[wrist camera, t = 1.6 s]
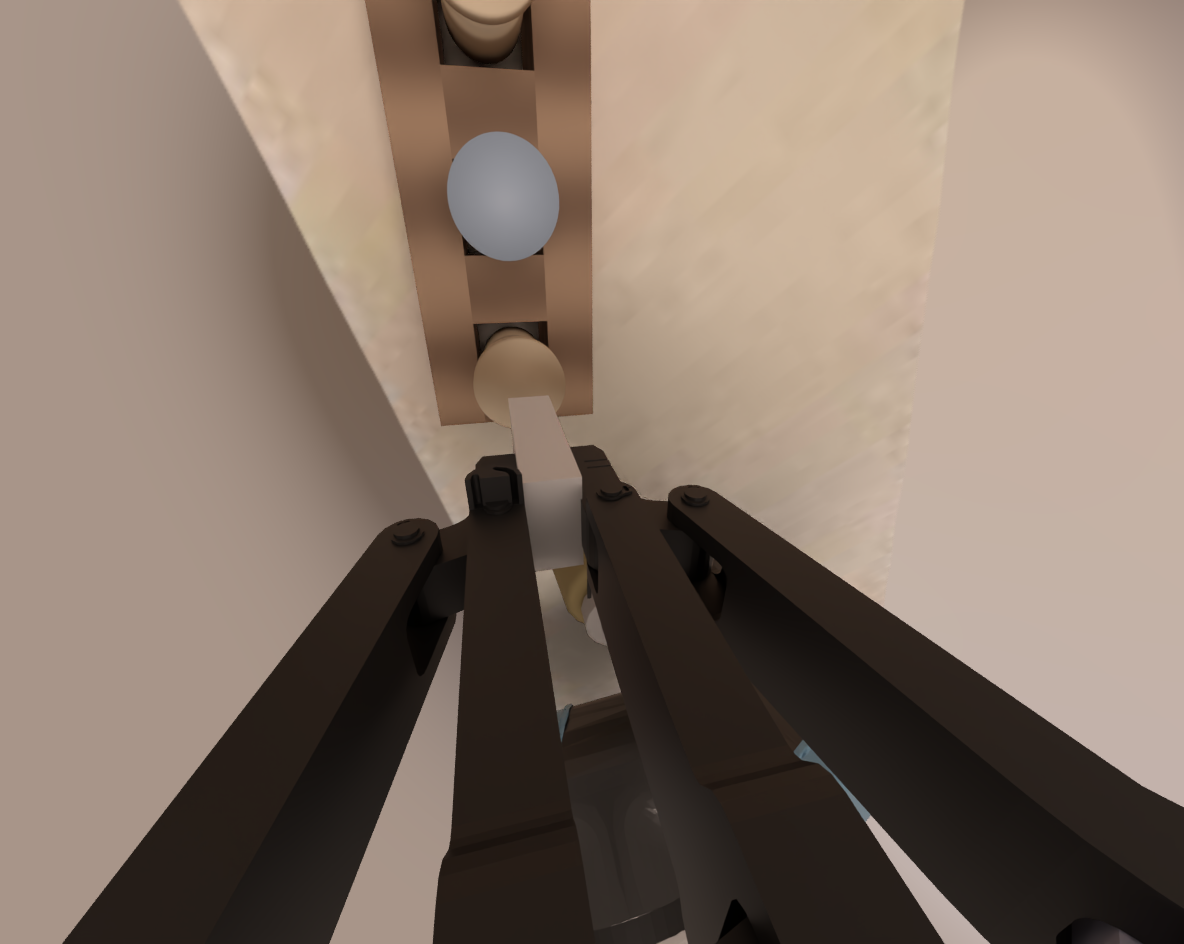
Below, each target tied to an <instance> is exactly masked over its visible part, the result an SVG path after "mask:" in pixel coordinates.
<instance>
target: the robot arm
mask: <svg viewBox="0 0 1184 944" xmlns="http://www.w3.org/2000/svg"><path fill="white" fill-rule="evenodd" d="M508 402H509V412H510V422H511V433H512V443H513V453H514V454H505V455H495V456H484V457H482V458H481V459H480V460H479V462H478V463H477V464H476V469H475V470H473V471H472V472H471V473H469V474H468V475H467V476H466V478H465V485H466V492H467V498H468V504H469V516H468V517H467V518H466V519H464V520H463V521H461V522H459V523H457V524H455V525H452V526H450V527H446V528H443V529H440V530H439V528H438V526H437V525H436V523H434V522H432V521H430V520H428V519H421V518H417V519H406V520H404V521H399V522H396V523H394V524H392V525H390V526H389V527H387V528H385V529H384V530H383V531H382V532H381V533H379V535H378V536H377V537H376V538H375V539H374V541H373V542H372V543H371V545H370V546H369V547H368V549H367V550H366V551H365V553H364V554H363V555H362V557H361V558H360V559H359V560H358V561H357V563H356V564H355V566H354V567H353V568H352V569H351V571H350V572H349V573H348V574H347V576H346V577H345V578H344V580H343V581H342V582H341V583H340V585H339V586H338V587H337V589H336V590H335V591H334V593H333V594H332V595H331V596H330V598H329V599H328V601H327V602H326V603H325V604H324V605H323V607H322V608H321V610H320V611H319V612H318V613H317V615H316V616H315V617H314V618H313V620H312V621H311V622H310V624H309V625H308V626H307V627H306V629H305V630H304V631H303V633H302V634H301V635H300V637H299V638H298V639H297V640H296V642H295V643H294V644H293V646H292V647H291V648H290V649H289V651H288V652H287V653H286V655H285V656H284V657H283V659H282V660H281V661H280V663H279V664H278V665H277V666H276V668H275V669H274V670H273V672H272V673H271V674H270V675H269V677H268V678H267V679H266V681H265V682H264V683H263V684H262V686H261V687H260V688H259V690H258V691H257V692H256V693H255V695H254V696H253V697H252V699H251V700H250V701H249V703H248V704H247V705H246V706H245V708H244V709H243V710H242V712H241V713H240V714H239V715H238V717H237V718H236V719H235V721H234V722H233V723H232V725H231V726H230V727H229V728H228V730H227V731H226V732H225V734H224V735H223V737H222V738H221V739H220V740H219V741H218V743H217V744H216V745H215V747H214V748H213V749H212V750H211V752H210V753H209V754H208V756H207V757H206V758H205V760H204V761H203V762H202V763H201V765H200V766H199V767H198V769H197V770H196V771H195V773H194V774H193V775H192V776H191V778H190V779H189V780H188V781H187V783H186V784H185V785H184V787H183V788H182V789H181V791H180V792H179V793H178V795H177V796H176V797H175V798H174V800H173V801H172V802H171V803H170V805H169V806H168V807H167V809H166V810H165V811H164V813H163V814H162V815H161V817H160V818H159V819H158V820H157V822H156V823H155V824H154V825H153V827H152V828H151V830H150V831H149V832H148V833H147V835H146V836H145V837H144V838H143V840H142V841H141V842H140V844H139V845H138V846H137V847H136V849H135V850H134V851H133V853H132V854H131V855H130V857H129V858H128V860H127V861H126V862H125V863H124V864H123V866H122V867H121V868H120V870H119V871H118V872H117V873H116V875H115V876H114V877H113V879H112V880H111V881H110V882H109V884H108V885H107V886H106V888H105V889H104V890H103V891H102V893H101V894H100V895H99V897H98V898H97V899H96V901H95V902H94V903H93V904H92V906H91V907H90V908H89V910H88V911H87V912H86V914H85V915H84V916H83V917H82V919H81V920H80V921H79V923H78V924H77V925H76V926H75V928H74V929H73V930H72V932H71V933H70V934H69V935H68V937H67V938H66V939H65V941H64V942H63V944H329V943H330V940H331V938H332V935H333V933H334V930H335V927H336V925H337V922H338V920H339V917H340V915H341V912H342V910H343V907H344V905H345V902H346V899H347V897H348V894H349V892H350V889H351V887H352V884H353V882H354V879H355V877H356V874H357V871H358V869H359V866H360V864H361V861H362V859H363V856H364V854H365V851H366V848H367V846H368V843H369V840H370V838H371V836H372V833H373V831H374V828H375V826H376V823H377V820H378V818H379V815H380V812H381V810H382V808H383V805H384V802H385V800H386V797H387V795H388V792H389V790H390V787H391V785H392V782H393V780H394V777H395V774H396V772H397V769H398V767H399V764H400V762H401V759H402V757H403V754H404V751H405V749H406V746H407V744H408V741H409V739H410V736H411V734H412V731H413V729H414V726H415V724H416V721H417V718H418V716H419V713H420V711H421V708H422V706H423V703H424V700H425V698H426V695H427V692H428V690H429V687H430V685H431V682H432V680H433V678H434V675H435V673H436V670H437V667H438V665H439V662H440V659H441V657H442V655H443V652H444V650H445V647H446V645H447V642H448V639H449V637H450V634H451V632H452V629H453V627H454V624H455V620H456V613H457V612H460V611H462V610H464V618H463V635H462V652H461V653H462V654H461V670H460V689H459V705H458V724H457V740H456V742H457V743H456V758H455V759H456V760H455V776H454V794H453V812H452V829H451V840H450V845H449V850H448V851H447V853H446V855H445V856H444V858H443V860H442V864H441V868H440V873H439V878H438V888H437V897H436V908H435V920H434V935H433V944H944V943H943V941H942V939H941V937H940V936H939V935H938V933H937V932H936V930H935V929H934V927H933V925H932V924H931V922H930V921H929V919H928V918H927V916H926V914H925V913H924V911H923V910H922V908H921V907H920V905H919V904H918V902H917V901H916V899H915V898H914V896H913V895H912V893H911V892H910V890H909V888H908V887H907V886H906V884H905V882H904V881H903V879H902V878H901V876H900V875H899V873H898V872H897V870H896V869H895V867H894V865H893V864H892V862H891V861H890V859H889V858H888V856H887V855H886V853H885V852H884V850H883V849H882V847H881V846H880V844H879V842H878V841H877V839H876V838H875V836H874V835H873V833H872V832H871V830H870V829H869V827H868V826H867V824H866V821H867V819H868V818H869V816H870V815H871V816H872V817H873V818H874V819H875V820H876V821H877V822H878V823H879V824H880V826H881V827H882V828H883V829H884V830H885V831H886V832H887V833H888V835H889V836H890V837H891V838H892V839H893V840H894V841H895V842H896V843H897V844H898V846H899V847H900V848H901V849H902V850H903V851H904V852H905V853H906V854H907V856H908V857H909V858H910V859H911V860H912V861H913V862H914V863H915V864H916V865H917V867H918V868H919V869H920V870H921V871H922V872H923V873H924V874H925V875H926V877H927V878H928V879H929V880H930V881H931V882H932V883H933V884H934V885H935V887H936V888H937V889H938V890H939V891H940V892H941V893H942V894H943V895H944V896H945V897H946V898H947V899H948V901H949V902H950V903H951V904H952V905H953V906H954V907H955V908H956V909H957V910H958V911H959V912H960V913H961V914H962V915H963V916H964V917H965V918H966V919H967V920H968V921H969V922H970V924H972V926H973V927H974V928H975V929H976V930H977V931H978V932H979V933H980V934H981V935H982V936H983V937H984V938H985V939H986V940H987V941H988V942H989V943H990V944H1184V807H1182V806H1180V805H1178V804H1176V803H1174V802H1172V801H1170V800H1168V799H1166V798H1164V797H1162V796H1160V795H1158V794H1157V793H1155V792H1152V791H1151V790H1148V789H1147V788H1145V787H1143V786H1141V785H1140V784H1138V783H1137V782H1135V781H1134V780H1132V779H1131V778H1130V777H1128V776H1127V775H1125V774H1124V773H1122V772H1121V771H1119V770H1118V769H1117V768H1115V767H1114V766H1112V765H1110V764H1109V763H1108V762H1106V761H1105V760H1103V759H1102V758H1101V757H1099V756H1098V755H1096V754H1095V753H1093V752H1092V751H1090V750H1089V749H1087V748H1086V747H1085V746H1083V745H1082V744H1080V743H1079V742H1077V741H1076V740H1074V739H1073V738H1072V737H1070V736H1069V735H1067V734H1066V733H1064V732H1063V731H1061V730H1060V729H1058V728H1057V727H1056V726H1054V725H1053V724H1051V723H1050V722H1048V721H1047V720H1045V719H1044V718H1042V717H1041V716H1040V715H1038V714H1037V713H1035V712H1034V711H1032V710H1031V709H1030V708H1028V707H1027V706H1025V705H1024V704H1022V703H1021V702H1019V701H1018V700H1016V699H1015V698H1014V697H1012V696H1011V695H1009V694H1008V693H1006V692H1005V691H1003V690H1002V689H1000V688H999V687H998V686H996V685H995V684H993V683H992V682H990V681H989V680H987V679H986V678H985V677H983V676H982V675H980V674H978V673H977V672H976V671H974V670H973V669H971V668H970V667H969V666H967V665H966V664H964V663H963V662H961V661H960V660H958V659H957V658H955V657H954V656H953V655H951V654H950V653H948V652H947V651H945V650H944V649H942V648H941V647H940V646H938V645H937V644H935V643H934V642H932V641H931V640H929V639H928V638H927V637H925V636H924V635H922V634H921V633H919V632H918V631H916V630H915V629H913V628H912V627H911V626H909V625H908V624H906V623H905V622H903V621H902V620H900V619H899V618H898V617H896V616H895V615H893V614H892V613H890V612H889V611H887V610H886V609H884V608H883V607H882V606H880V605H879V604H877V603H876V602H874V601H873V600H871V599H870V598H869V597H867V596H866V595H864V594H863V593H861V592H860V591H858V590H857V589H855V588H854V587H853V586H851V585H850V584H848V583H847V582H845V581H844V580H842V579H841V578H840V577H838V576H837V575H835V574H834V573H832V572H831V571H829V570H828V569H826V568H825V567H824V566H822V565H821V564H819V563H818V562H816V561H815V560H813V559H812V558H811V557H809V556H808V555H806V554H805V553H803V552H802V551H800V550H799V549H797V548H796V547H795V546H793V545H792V544H790V543H789V542H787V541H786V540H784V539H783V538H782V537H780V536H779V535H777V534H776V533H774V532H773V531H771V530H770V529H768V528H767V527H766V526H764V525H763V524H761V523H760V522H758V521H757V520H755V519H754V518H753V517H751V516H750V515H748V514H747V513H745V512H744V511H742V510H741V509H739V508H738V507H737V506H735V505H734V504H732V503H731V502H729V501H728V500H726V499H725V498H723V497H722V496H721V495H719V494H718V493H716V492H714V491H712V490H710V489H708V488H705V487H701V486H698V485H694V486H693V485H686V486H679V487H677V488H675V489H672V490H671V492H670V493H669V495H668V502H667V501H653V500H645V499H641V498H640V496H639V495H638V493H637V491H636V490H635V489H634V488H633V487H632V486H630V485H628V484H626V483H623V482H620V480H619V478H618V477H617V475H616V473H615V471H614V469H613V468H612V466H611V464H610V462H609V460H607V457H606V455H605V453H604V452H603V451H602V450H601V449H599V448H597V447H596V446H594V445H588V446H578V447H570V446H569V444H568V441H567V439H566V437H565V434H564V432H563V429H562V427H561V424H560V422H559V419H558V417H557V415H556V412H555V410H554V407H553V405H552V402H551V400H550V397H549V395H546V396H532V397H518V398H508ZM583 551H584V554H585V557H586V560H587V599H590V598H591V596H592V595H593V599H594V602H595V605H596V609H597V612H598V616H599V619H600V622H601V626H602V629H603V632H604V636H605V639H606V642H607V646H608V649H609V653H610V656H611V659H612V663H613V666H614V669H615V673H616V676H617V679H618V683H619V686H620V690H621V693H618V694H614V695H611V696H607V697H604V698H601V699H597V700H594V701H590V702H587V703H583V704H580V705H576V706H573V705H572V704H569V705H566V706H565V708H564V709H562V710H559V711H556V705H555V698H554V692H553V685H552V679H551V672H550V666H549V659H548V653H547V646H546V640H545V633H544V626H543V620H542V613H541V607H540V600H539V594H538V587H537V581H536V574H535V572H536V571H543V570H550V569H557V568H564V567H570V566H577V565H584V556H583Z"/></svg>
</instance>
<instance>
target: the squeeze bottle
mask: <svg viewBox="0 0 1184 944" xmlns="http://www.w3.org/2000/svg"><path fill="white" fill-rule="evenodd" d="M583 556H584V565H577V566H570V567H564V568H557V569H553V572H554V574H555V577H556V580H557V583H558V585H559V588H560V591H561V594H562V596H563V599H564V602H565V605H566V607H567V610H568V612H569V613H570V614H571V615H572V616H573V617H574V618H575V619H576V620H577V621H579V622H582V623H585V627H586V631H587V634H588V636H590V637H591V638H592V639H593V640H594V641H595V642H597V643H600V644H603V645H606V646H607V642H606V639H605V636H604V632H603V629H602V626H601V622H600V619H599V616H598V612H597V609H596V605H595V602H594V599H593V595H592V596H591V598H590V599H587V560H586V557H585V554H584V551H583Z"/></svg>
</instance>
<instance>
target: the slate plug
mask: <svg viewBox="0 0 1184 944" xmlns="http://www.w3.org/2000/svg"><path fill="white" fill-rule="evenodd" d="M447 196H448V203H449V208H450V212H451V215H452V218H453V220H454V222H455V224H456V226H457V228H458V230H459V231H460V233H461V234H462V235H463V237H464V238H465V239H466V240H467V241H468V242H469V244H470V245H472V246H473V247H474V248H475V249H476V250H478V251H479V252H481V253H482V254H484V255H486V256H488V257H491V258H494V259H497V260H502V261H517V260H521V259H524V258H527V257H529V256H531V255H533V254H535V253H536V252H537V251H539V250H540V249H541V248H542V247H543V246H544V245H545V244H546V243H547V241H548V240H549V238H550V237H551V235H552V233H553V231H554V228H555V226H556V223H557V219H558V213H559V193H558V188H557V183H556V180H555V177H554V174H553V172H552V170H551V168H550V166H549V164H548V163H547V161H546V159H545V158H544V157H543V155H542V154H541V153H540V152H539V151H538V150H537V149H536V148H535V147H534V146H533V145H532V144H530V143H529V142H528V141H526V140H524V139H523V138H521V137H519V136H516V135H514V134H510V133H507V132H488V133H484V134H481V135H479V136H476V137H475V138H473V139H471V140H470V141H468V142H467V143H466V144H465V145H464V146H463V147H462V148H461V149H460V151H459V152H458V153H457V155H456V157H455V158H454V160H453V163H452V165H451V168H450V171H449V175H448V182H447Z"/></svg>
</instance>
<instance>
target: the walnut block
mask: <svg viewBox="0 0 1184 944" xmlns="http://www.w3.org/2000/svg"><path fill="white" fill-rule="evenodd" d="M365 3H366V8H367V14H368V19H369V25H370V31H371V36H372V42H373V47H374V53H375V59H376V64H377V70H378V75H379V81H380V87H381V92H382V98H383V103H384V109H385V114H386V120H387V126H388V131H389V137H390V142H391V148H392V154H393V159H394V165H395V170H396V176H397V182H398V187H399V193H400V198H401V204H402V209H403V215H404V221H405V226H406V232H407V237H408V243H409V249H410V254H411V260H412V265H413V271H414V277H415V282H416V288H417V293H418V299H419V304H420V310H421V316H422V321H423V327H424V332H425V338H426V344H427V349H428V355H429V360H430V366H431V372H432V377H433V383H434V388H435V394H436V400H437V405H438V411H439V416H440V422H441V426H446V425H459V424H471V423H484V422H494V421H493V420H491V419H490V418H489V417H488V416H487V415H486V414H485V413H484V412H483V411H482V409H481V408H480V406H479V404H478V402H477V400H476V397H475V394H474V387H473V381H474V371H475V367H476V364H477V361H478V359H479V357H480V356H481V353H480V345H479V337H478V329H477V324H483V323H508V322H533V321H538V328H539V342H541V343H543V344H544V345H545V346H547V347H548V348H549V349H550V350H551V351H552V352H553V354H554V355H555V356H556V358H557V359H558V361H559V363H560V365H561V367H562V369H563V372H564V376H565V382H566V388H565V395H564V398H563V401H562V403H561V406H560V407H559V409H558V410H557V412H556V415H557V417H558V416H571V415H583V414H593V376H592V199H591V21H590V0H533V2H532V3H531V5H530V6H529V7H528V8H527V9H526V11H525V12H524V13H523V17H522V24H521V30H520V33H521V49H522V66H523V70H514V69H499V68H483V67H468V66H453V65H445V62H444V54H443V46H442V37H441V29H440V21H439V13H438V5H437V0H365ZM488 132H507V133H510V134H514V135H516V136H519V137H521V138H523V139H524V140H526V141H528V142H529V143H530V144H532V145H533V146H534V147H535V148H536V149H537V150H538V151H539V152H540V153H541V154H542V155H543V157H544V158H545V159H546V161H547V163H548V164H549V166H550V168H551V170H552V172H553V174H554V177H555V180H556V183H557V188H558V193H559V213H558V219H557V223H556V226H555V228H554V231H553V233H552V235H551V237H550V238H549V240H548V241H547V243H546V244H545V245H544V246H543V247H542V248H541V249H540V250H539V251H537V252H536V253H535V254H533V255H531V256H529V257H527V258H524V259H521V260H517V261H502V260H497V259H494V258H491V257H488V256H486V255H484V254H468V248H467V240H466V239H465V238H464V237H463V235H462V234H461V233H460V231H459V230H458V228H457V226H456V224H455V222H454V220H453V218H452V215H451V212H450V208H449V203H448V196H447V182H448V175H449V171H450V168H451V165H452V163H453V160H454V158H455V157H456V155H457V153H458V152H459V151H460V149H461V148H462V147H463V146H464V145H465V144H466V143H467V142H468V141H470V140H471V139H473V138H475V137H476V136H479V135H481V134H484V133H488Z"/></svg>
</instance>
